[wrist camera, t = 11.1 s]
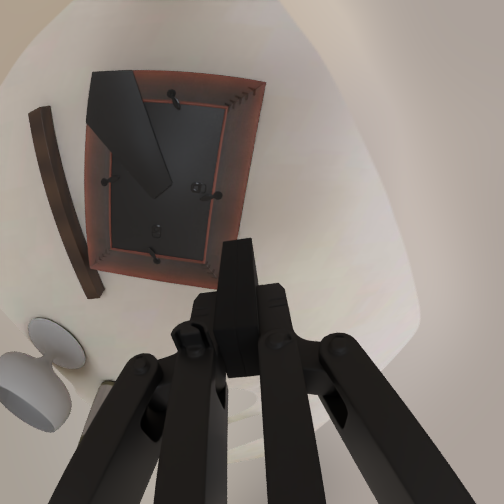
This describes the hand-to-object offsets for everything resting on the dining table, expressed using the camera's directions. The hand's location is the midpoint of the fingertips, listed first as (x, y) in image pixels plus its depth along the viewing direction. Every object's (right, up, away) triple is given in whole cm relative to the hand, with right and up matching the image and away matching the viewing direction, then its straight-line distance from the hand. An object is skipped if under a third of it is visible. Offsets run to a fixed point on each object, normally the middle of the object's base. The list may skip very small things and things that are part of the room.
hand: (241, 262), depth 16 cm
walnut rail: (-21, +6, +13) cm, 25 cm away
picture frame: (-8, +8, +12) cm, 17 cm away
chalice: (-33, -15, +24) cm, 43 cm away
